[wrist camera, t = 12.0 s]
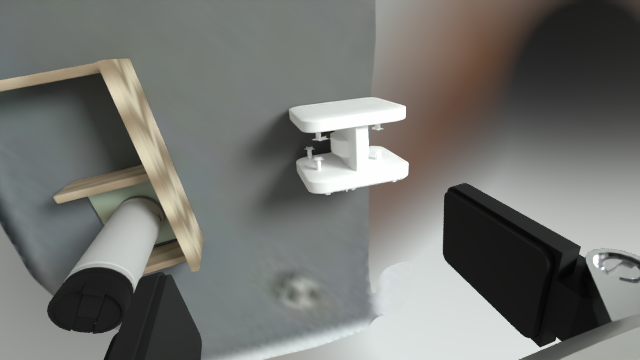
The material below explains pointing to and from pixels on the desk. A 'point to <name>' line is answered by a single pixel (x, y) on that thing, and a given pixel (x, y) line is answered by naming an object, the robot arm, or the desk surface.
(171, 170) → the desk dock
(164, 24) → the desk surface
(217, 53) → the desk surface
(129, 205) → the travel mug
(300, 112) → the cable organizer
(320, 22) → the desk surface
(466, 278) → the robot arm
